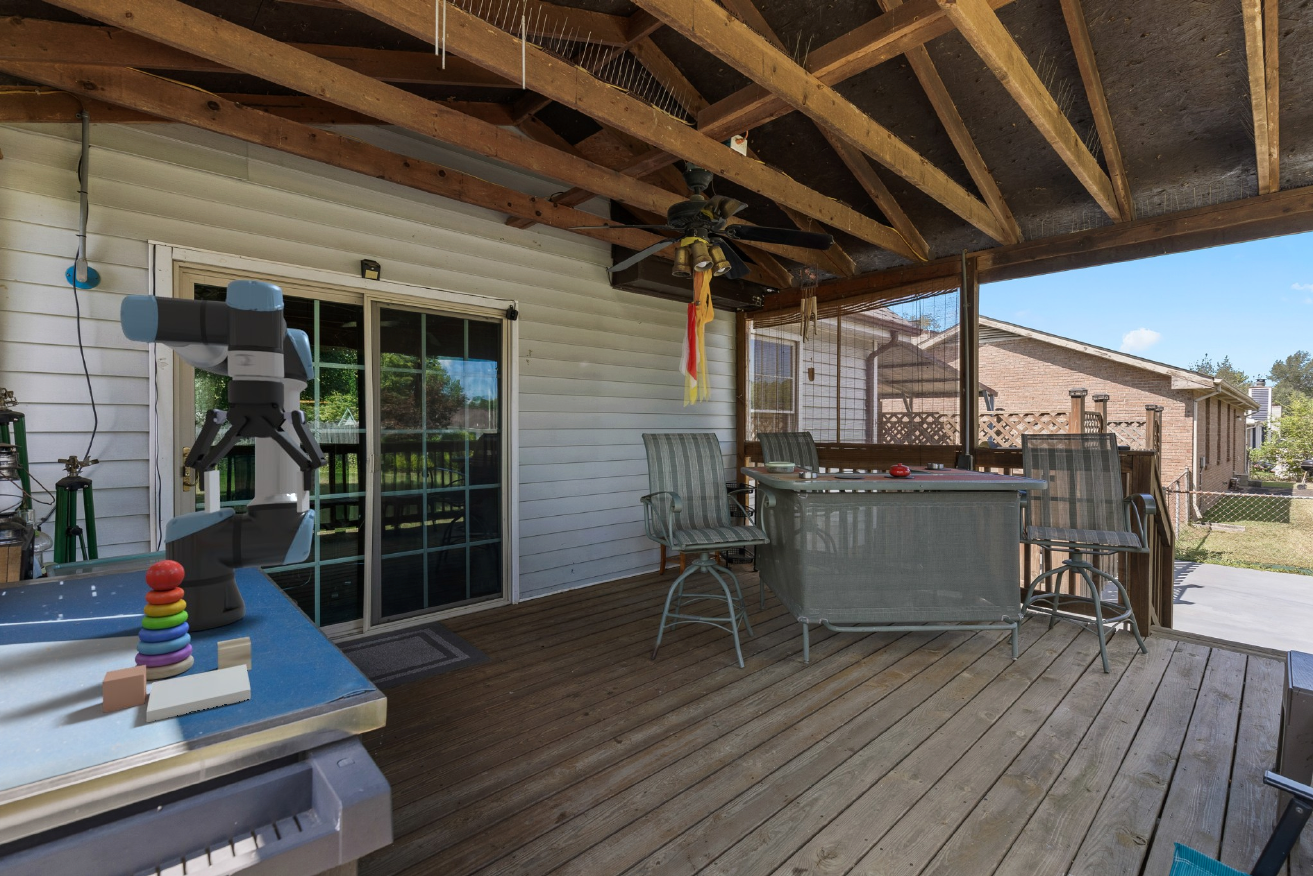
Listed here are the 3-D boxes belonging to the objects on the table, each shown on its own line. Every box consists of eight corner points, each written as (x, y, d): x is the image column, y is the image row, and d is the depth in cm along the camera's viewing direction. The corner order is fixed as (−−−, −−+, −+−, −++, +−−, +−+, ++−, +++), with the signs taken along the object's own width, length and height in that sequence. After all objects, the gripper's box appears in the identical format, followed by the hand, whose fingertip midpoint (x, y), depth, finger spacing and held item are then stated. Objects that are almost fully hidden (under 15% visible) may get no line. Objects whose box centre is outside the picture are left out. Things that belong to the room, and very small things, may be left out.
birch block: (217, 668, 103) (217, 642, 103) (249, 662, 106) (249, 636, 105) (218, 677, 99) (218, 649, 99) (251, 670, 102) (250, 644, 102)
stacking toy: (126, 685, 96) (124, 568, 95) (141, 667, 103) (139, 558, 102) (188, 676, 99) (186, 563, 99) (198, 659, 106) (196, 553, 106)
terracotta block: (107, 701, 90) (106, 671, 90) (146, 693, 93) (146, 664, 93) (103, 713, 87) (102, 682, 87) (144, 704, 89) (143, 674, 89)
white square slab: (152, 692, 93) (152, 682, 93) (246, 673, 100) (246, 664, 100) (146, 722, 84) (146, 711, 84) (250, 699, 91) (250, 689, 91)
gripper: (154, 376, 91) (157, 516, 92) (329, 380, 95) (331, 514, 96) (186, 379, 99) (188, 508, 100) (347, 382, 102) (348, 506, 103)
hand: (258, 511), depth 98 cm, fingers open, 13 cm apart
